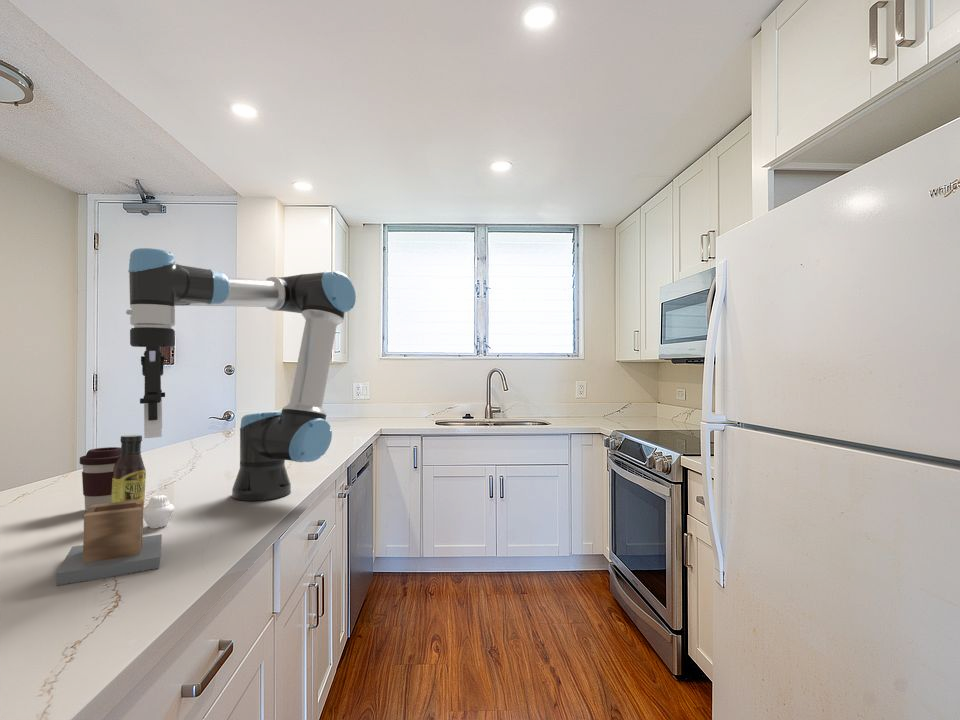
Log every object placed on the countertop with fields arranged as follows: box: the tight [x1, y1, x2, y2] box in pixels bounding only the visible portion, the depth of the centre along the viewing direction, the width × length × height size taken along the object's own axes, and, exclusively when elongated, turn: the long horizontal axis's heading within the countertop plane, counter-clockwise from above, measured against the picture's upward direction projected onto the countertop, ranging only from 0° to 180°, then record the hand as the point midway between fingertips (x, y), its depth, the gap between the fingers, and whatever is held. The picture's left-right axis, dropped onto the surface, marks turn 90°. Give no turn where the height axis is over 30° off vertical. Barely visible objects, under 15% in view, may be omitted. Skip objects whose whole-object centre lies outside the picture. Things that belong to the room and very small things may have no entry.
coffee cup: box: [79, 446, 121, 513], centre depth 123 cm, size 10×10×15 cm
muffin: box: [143, 494, 175, 529], centre depth 110 cm, size 6×6×7 cm
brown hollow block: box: [82, 499, 145, 563], centre depth 90 cm, size 8×8×8 cm
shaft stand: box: [55, 533, 163, 587], centre depth 89 cm, size 14×14×8 cm
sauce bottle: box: [111, 434, 147, 509], centre depth 113 cm, size 6×6×20 cm
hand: (153, 432), depth 99 cm, fingers open, 13 cm apart
